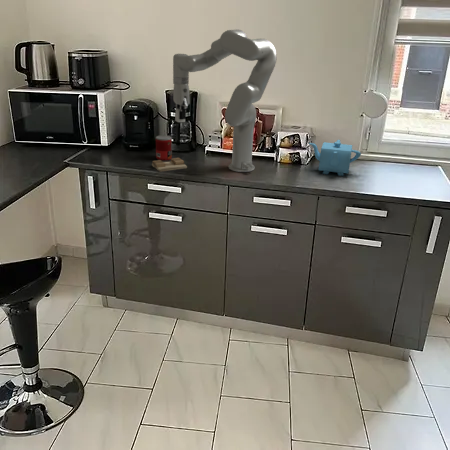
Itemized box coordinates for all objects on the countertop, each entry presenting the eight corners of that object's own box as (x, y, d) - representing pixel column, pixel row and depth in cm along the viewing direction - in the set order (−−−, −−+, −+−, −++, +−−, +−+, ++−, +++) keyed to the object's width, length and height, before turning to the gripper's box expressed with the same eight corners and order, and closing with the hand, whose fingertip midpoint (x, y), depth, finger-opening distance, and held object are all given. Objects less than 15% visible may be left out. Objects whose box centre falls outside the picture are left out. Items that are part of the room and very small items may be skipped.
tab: (185, 122, 245) (186, 108, 242) (177, 122, 243) (178, 108, 240) (182, 120, 248) (183, 107, 245) (175, 120, 246) (175, 107, 243)
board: (187, 168, 234) (187, 163, 233) (160, 171, 228) (159, 166, 227) (178, 162, 242) (178, 157, 241) (152, 165, 236) (152, 160, 235)
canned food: (170, 160, 244) (170, 139, 239) (155, 160, 244) (154, 138, 239) (172, 156, 251) (172, 135, 246) (157, 155, 251) (156, 134, 246)
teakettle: (360, 175, 234) (365, 145, 228) (331, 180, 225) (335, 149, 219) (334, 164, 248) (338, 135, 242) (305, 168, 240) (308, 139, 234)
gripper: (195, 83, 232) (194, 121, 240) (180, 77, 245) (180, 114, 253) (180, 83, 229) (180, 122, 237) (167, 78, 242) (167, 115, 249)
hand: (180, 117), depth 245 cm, fingers closed on tab, 3 cm apart
